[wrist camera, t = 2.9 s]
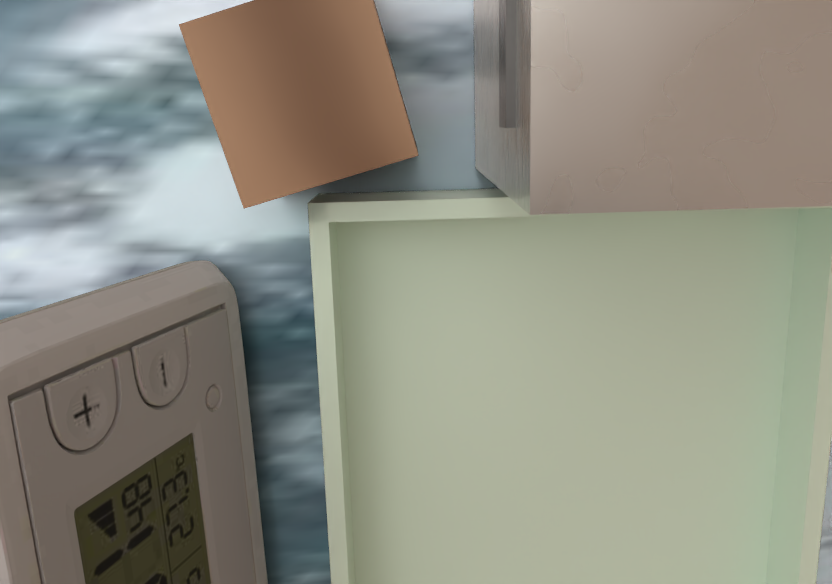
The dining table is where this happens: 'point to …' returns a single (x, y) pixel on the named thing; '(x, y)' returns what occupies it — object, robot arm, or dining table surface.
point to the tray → (571, 390)
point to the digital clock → (129, 437)
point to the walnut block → (299, 93)
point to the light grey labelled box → (654, 103)
